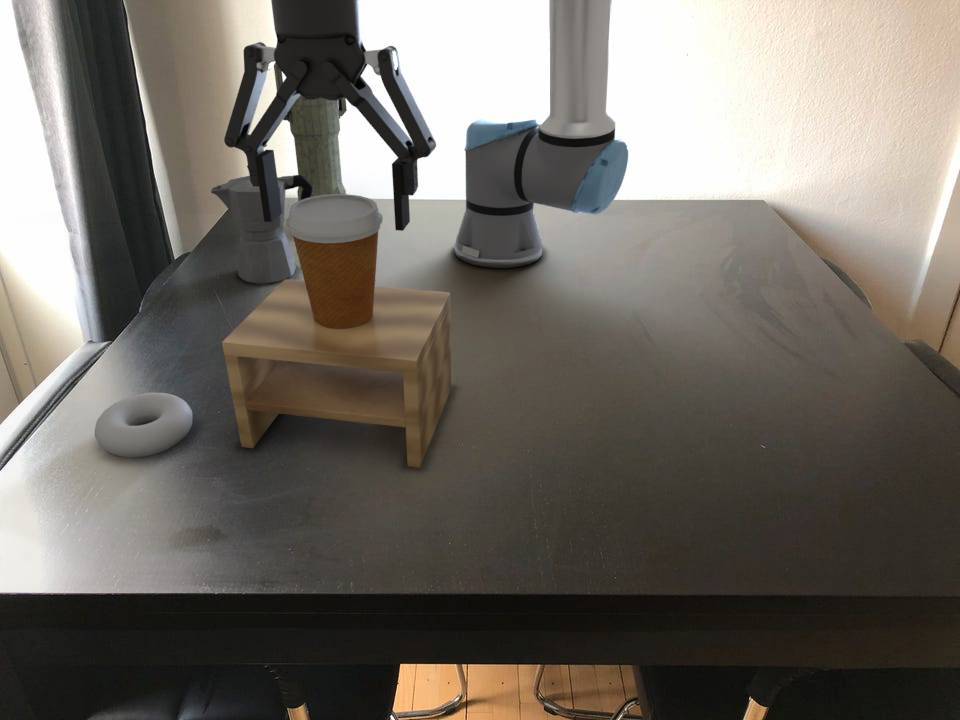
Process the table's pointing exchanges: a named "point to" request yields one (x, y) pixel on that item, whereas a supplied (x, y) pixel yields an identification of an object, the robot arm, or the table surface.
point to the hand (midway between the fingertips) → (337, 222)
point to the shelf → (343, 364)
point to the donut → (131, 440)
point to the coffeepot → (261, 229)
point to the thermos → (316, 140)
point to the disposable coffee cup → (337, 256)
